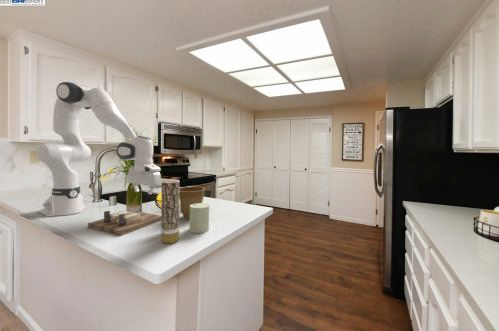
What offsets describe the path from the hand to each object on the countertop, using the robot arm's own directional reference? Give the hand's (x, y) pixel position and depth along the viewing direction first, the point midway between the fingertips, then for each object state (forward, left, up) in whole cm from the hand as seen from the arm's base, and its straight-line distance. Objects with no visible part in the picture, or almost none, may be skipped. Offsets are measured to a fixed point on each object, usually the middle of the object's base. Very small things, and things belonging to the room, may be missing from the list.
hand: (143, 192), depth 118 cm
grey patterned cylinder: (+34, -17, -14) cm, 40 cm away
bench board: (+1, -10, -14) cm, 17 cm away
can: (+37, -1, -14) cm, 39 cm away
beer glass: (+28, -9, -14) cm, 32 cm away
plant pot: (+22, +12, -14) cm, 28 cm away
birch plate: (+1, -12, -12) cm, 16 cm away
